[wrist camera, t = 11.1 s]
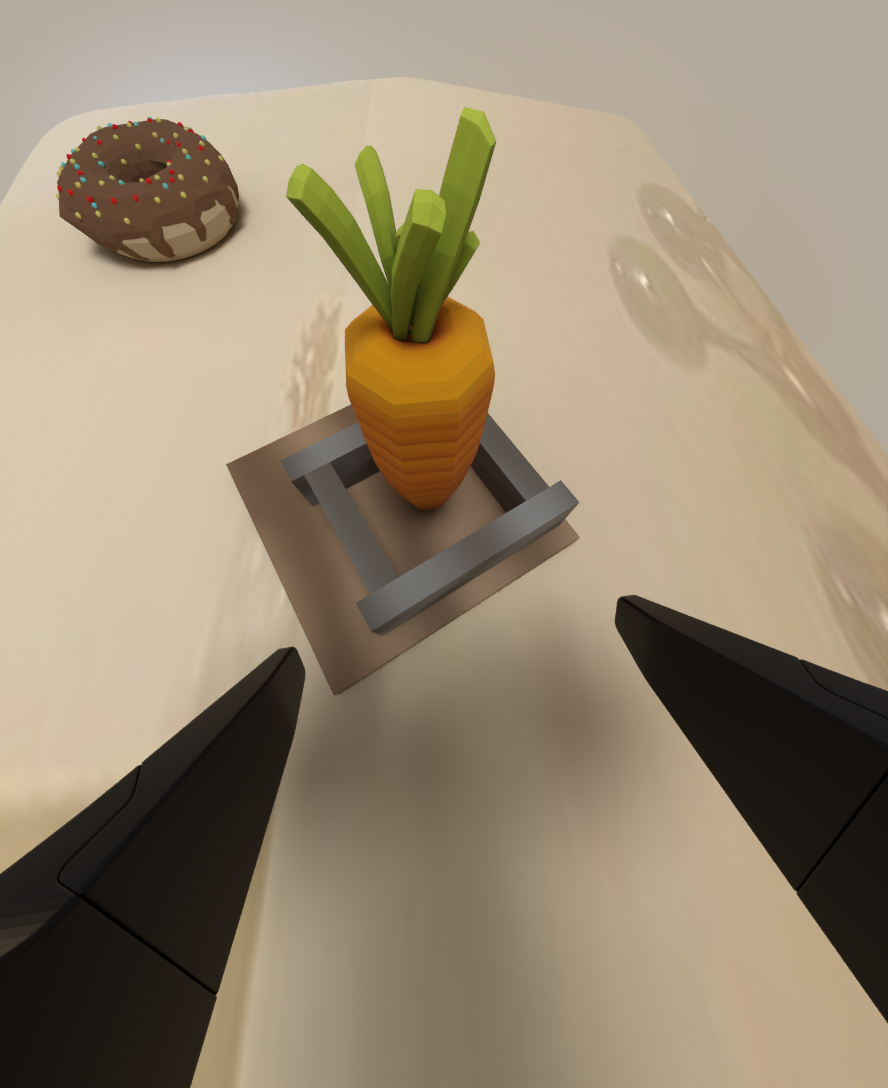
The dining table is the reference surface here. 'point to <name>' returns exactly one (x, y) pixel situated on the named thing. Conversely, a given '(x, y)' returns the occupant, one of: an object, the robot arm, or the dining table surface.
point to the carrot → (413, 317)
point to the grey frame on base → (392, 539)
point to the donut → (148, 190)
